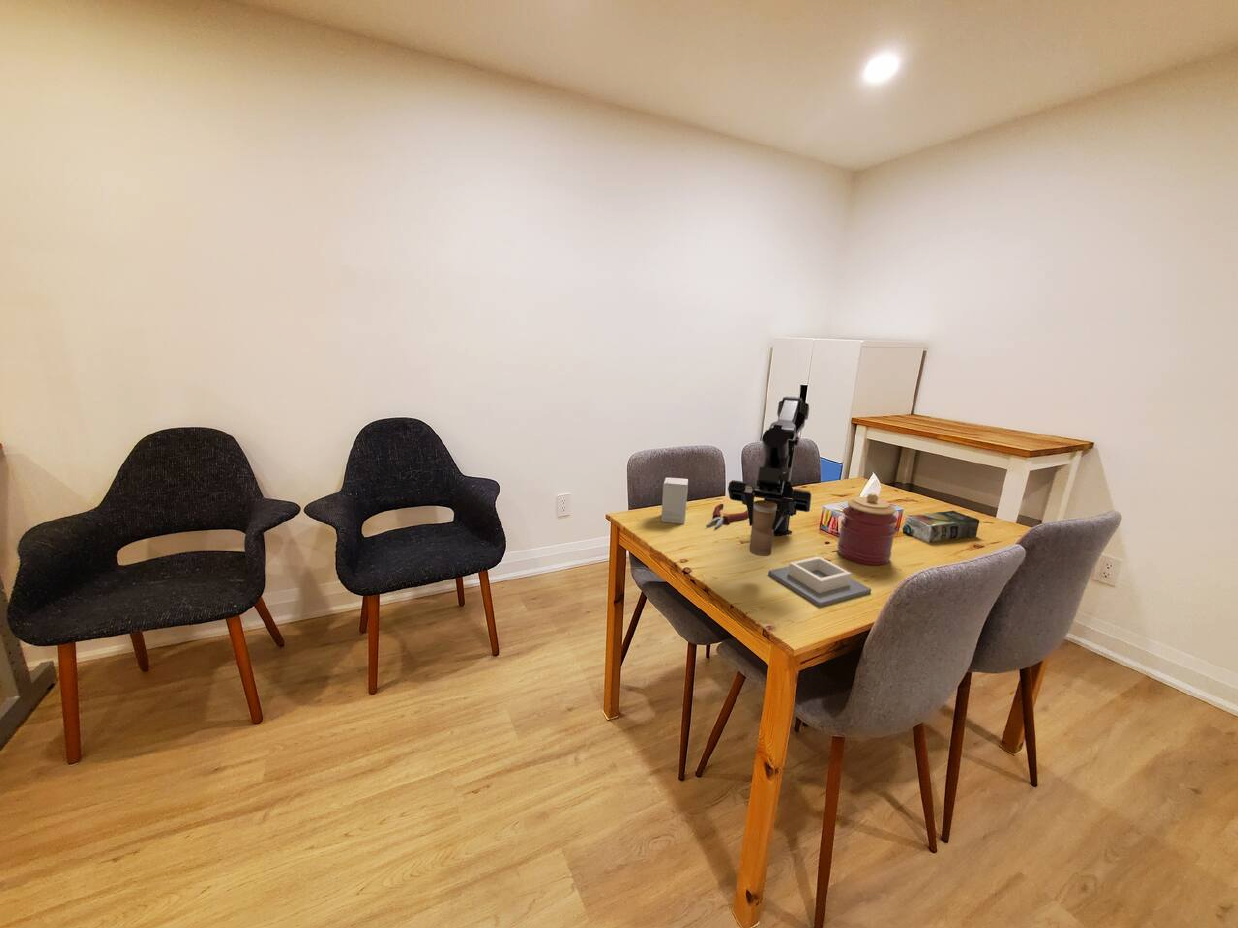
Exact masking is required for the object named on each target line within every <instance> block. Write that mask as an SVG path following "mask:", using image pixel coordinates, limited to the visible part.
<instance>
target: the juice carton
mask: <svg viewBox="0 0 1238 928" xmlns="http://www.w3.org/2000/svg"><path fill="white" fill-rule="evenodd" d="M979 524H980V520H979V519H978V518H975V517H973V516H970V515H967V514H963V513H961V512H957V511H955V510H948V511H938V512H937V511H936V512H931V513H927V512H926V513H922V514H921V513H920V514H910V515H909V514H908V515H905V517H904V523H903V527H902V532H903V533H907V534H909V535H911V536H912V537H914V538H916V539H919V540H920V541H923V542H926V543H937V542H943V541H953V540H954V541H955V540H962V539H971V538H976V536H978V535H977V534H978V529H979V526H980V525H979Z"/></svg>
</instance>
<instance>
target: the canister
mask: <svg viewBox="0 0 1238 928" xmlns="http://www.w3.org/2000/svg"><path fill="white" fill-rule="evenodd" d="M878 496H879V495H878V494H876V493H875V492H870V493H868V494H867V496H858V497H857V496H856V497H854V498H853V499H850V500H848V501H847V505H848V506H846V507H844V508H843V509H842V513H843V515H844V516H843V519H841V522H840V531H839V532H840V533H839V539H838V541H837V552H838V554H839V555H840V556H842V558H845V559H847V560H849V561H851V562H854V563H859V564H862V565H867V566H883V565H887V564H888V563H889V562H890V558H891V557H892V556H891V555H892V547H893V542H894V536H895V534H896V529H895V524H896V523H897V522H898V520H899V519H898V517H897V516H896V515H895V512H896V507H894V506H893V505H891V504H890V503H889V502H888V501H887V500H883V499H882V498H881V499H880V498H879V497H878Z"/></svg>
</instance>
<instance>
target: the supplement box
mask: <svg viewBox="0 0 1238 928" xmlns="http://www.w3.org/2000/svg"><path fill="white" fill-rule="evenodd" d="M688 486H689V479H688V478H682V477H681V478H678V477H665V478H664V482H663V486H662V504H661V505H662V506H661V519H660V520H661V521H660V522H663V523H671V524H681V525H682V524H683V525H684V524H685V520H686V514H687V513H686V512H687V501H688Z"/></svg>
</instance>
